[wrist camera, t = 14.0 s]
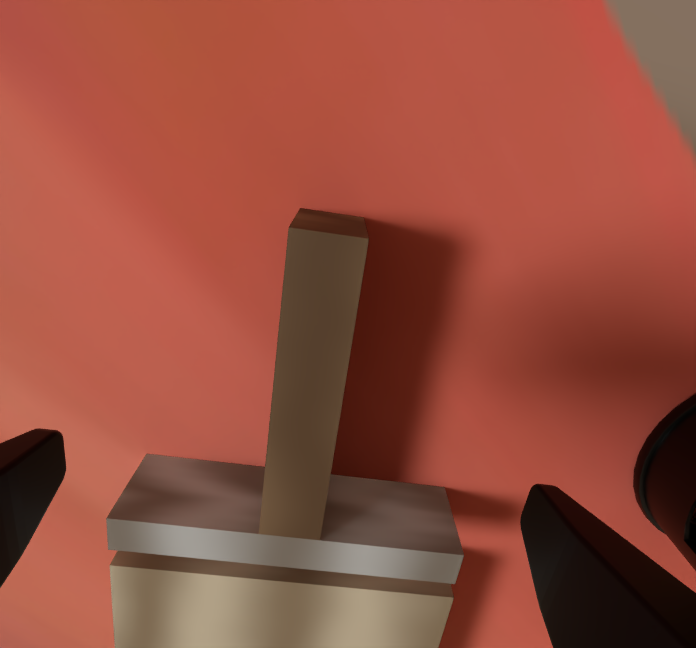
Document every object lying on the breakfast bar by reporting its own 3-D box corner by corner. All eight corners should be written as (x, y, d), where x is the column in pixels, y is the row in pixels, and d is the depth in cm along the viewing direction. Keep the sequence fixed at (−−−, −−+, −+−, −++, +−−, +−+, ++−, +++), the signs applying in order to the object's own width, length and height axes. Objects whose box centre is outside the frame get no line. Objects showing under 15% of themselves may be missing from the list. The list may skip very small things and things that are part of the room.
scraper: (147, 480, 22) (108, 549, 19) (142, 184, 17) (87, 198, 14) (437, 511, 23) (455, 583, 19) (512, 239, 18) (555, 265, 14)
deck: (142, 661, 27) (119, 722, 24) (138, 512, 23) (109, 565, 20) (401, 683, 28) (407, 744, 25) (441, 543, 24) (453, 597, 21)
